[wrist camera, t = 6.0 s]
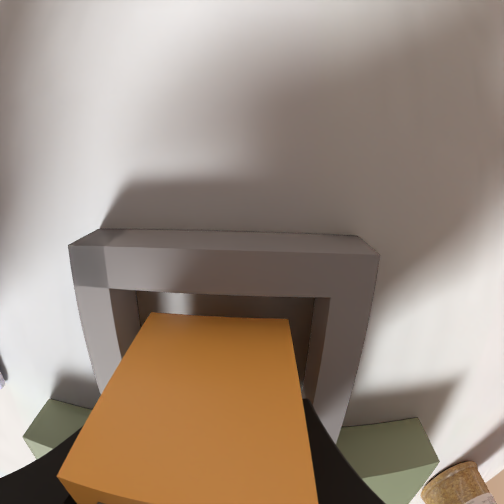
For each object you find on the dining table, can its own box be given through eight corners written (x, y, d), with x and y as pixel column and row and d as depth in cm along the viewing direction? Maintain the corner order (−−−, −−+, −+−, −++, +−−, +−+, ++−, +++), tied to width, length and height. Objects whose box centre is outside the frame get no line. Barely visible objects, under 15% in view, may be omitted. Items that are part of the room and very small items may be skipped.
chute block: (170, 432, 11) (134, 569, 5) (151, 312, 9) (53, 482, 3) (274, 439, 11) (281, 584, 5) (288, 318, 9) (320, 519, 3)
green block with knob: (92, 482, 15) (70, 538, 10) (3, 228, 10) (-88, 270, 5) (373, 497, 15) (388, 558, 10) (472, 242, 10) (566, 294, 5)
